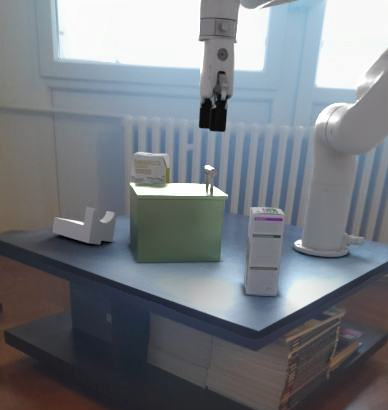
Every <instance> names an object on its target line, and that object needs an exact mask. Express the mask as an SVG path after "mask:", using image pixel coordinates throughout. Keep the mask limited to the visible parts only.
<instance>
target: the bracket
mask: <svg viewBox="0 0 388 410" xmlns="http://www.w3.org/2000/svg"><path fill="white" fill-rule="evenodd" d="M117 217H118V212H114V211H109V210H106V212H105V215H104V216H103V218H101V219H100V218H99V215H98V208H93V207H89V206H86V207H85V213H84V217H83V221H80V220H73V219H68V218H62V217H55V216H54V217H53V225H52V232H51V233H52V234H56V235H60V236H63V237H66V238H70V239H73V240H77V241H79V242H83V243H87V244H92V245H101V243H102V242H109V243H113V240H114V235H115V229H116V223H117Z"/></svg>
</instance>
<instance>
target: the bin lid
mask: <svg viewBox="0 0 388 410" xmlns="http://www.w3.org/2000/svg"><path fill="white" fill-rule="evenodd" d="M203 173H204V174H205V180H204V181H205V184H204V183H201V184H200V183H192V184H173V183H170V184H158V183H131V182H129V189H130V188H131V189H132V191H133V192H134V194H135V196H136V197H137V199H201V200H224V201H228V200H229V195H228V194H226V193H225V192H223V191H222V190H221V189H219V188H218V187H215V178H217V175H218V170H217V169H216V168H214V167H212V166H210V165H205V166H204V167H203Z"/></svg>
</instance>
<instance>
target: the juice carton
mask: <svg viewBox="0 0 388 410" xmlns="http://www.w3.org/2000/svg"><path fill="white" fill-rule="evenodd" d="M131 156H132V157H131V163H130V183H158V184H171V160H170V155H169V153H152V152H148V151H147V152H146V151H137V152H134V153H132V155H131Z"/></svg>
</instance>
